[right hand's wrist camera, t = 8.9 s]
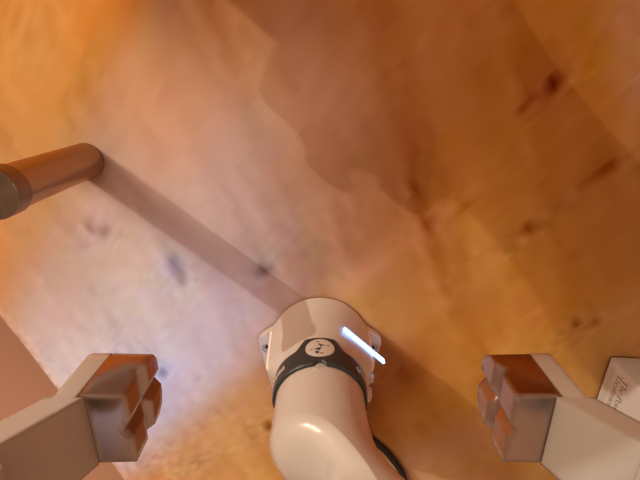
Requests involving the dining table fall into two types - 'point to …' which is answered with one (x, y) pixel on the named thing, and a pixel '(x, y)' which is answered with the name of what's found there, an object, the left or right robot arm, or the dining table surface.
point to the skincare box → (622, 386)
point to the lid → (13, 191)
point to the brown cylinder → (60, 169)
